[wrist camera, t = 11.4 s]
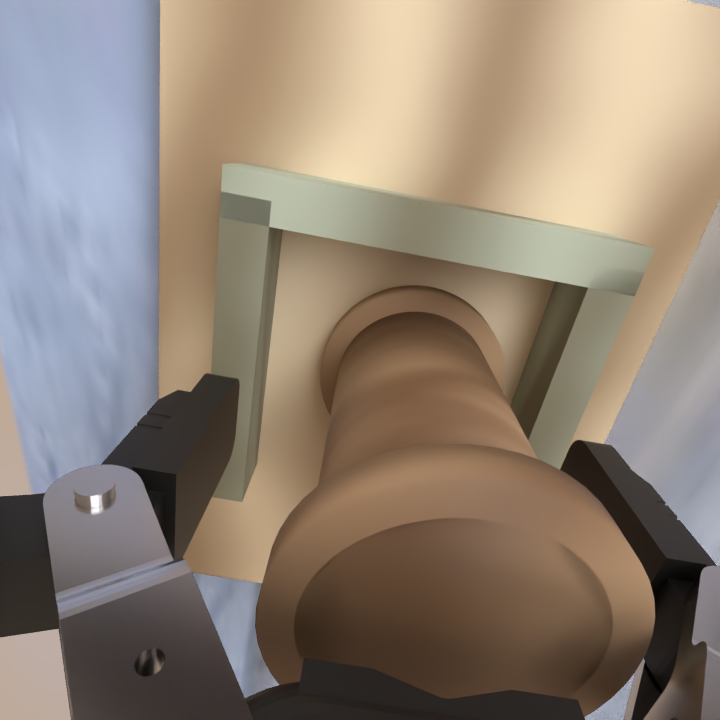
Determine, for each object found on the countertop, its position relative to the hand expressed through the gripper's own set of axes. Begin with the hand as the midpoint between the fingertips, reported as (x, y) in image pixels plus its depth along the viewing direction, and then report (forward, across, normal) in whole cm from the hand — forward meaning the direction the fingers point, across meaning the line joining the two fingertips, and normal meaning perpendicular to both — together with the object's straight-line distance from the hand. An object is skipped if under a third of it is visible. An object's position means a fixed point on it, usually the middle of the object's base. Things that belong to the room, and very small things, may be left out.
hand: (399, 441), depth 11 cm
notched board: (+6, 0, 0) cm, 6 cm away
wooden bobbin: (+4, 0, 0) cm, 4 cm away
